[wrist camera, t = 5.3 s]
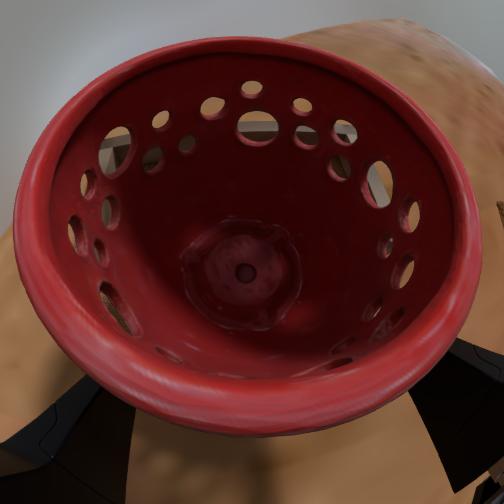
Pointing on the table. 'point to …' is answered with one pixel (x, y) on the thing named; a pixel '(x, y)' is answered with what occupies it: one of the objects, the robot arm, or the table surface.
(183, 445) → the table surface
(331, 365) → the plant pot
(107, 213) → the walnut corral
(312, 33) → the table surface
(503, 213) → the primitive tool
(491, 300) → the table surface
